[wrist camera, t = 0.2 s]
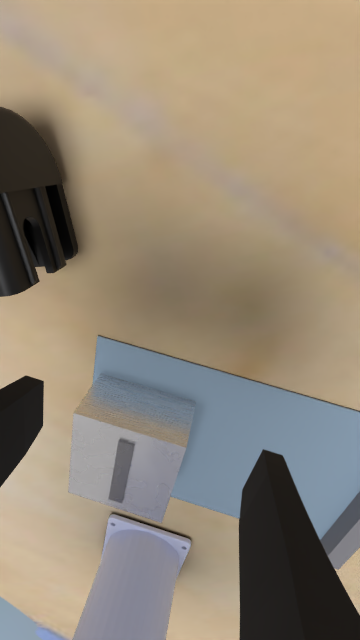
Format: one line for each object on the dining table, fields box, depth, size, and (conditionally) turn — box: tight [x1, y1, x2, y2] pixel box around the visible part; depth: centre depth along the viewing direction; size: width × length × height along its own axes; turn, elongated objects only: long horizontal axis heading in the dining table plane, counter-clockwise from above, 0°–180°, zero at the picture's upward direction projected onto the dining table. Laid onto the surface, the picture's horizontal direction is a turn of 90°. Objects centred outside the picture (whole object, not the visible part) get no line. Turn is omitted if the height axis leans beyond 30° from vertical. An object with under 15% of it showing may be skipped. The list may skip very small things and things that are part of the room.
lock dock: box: [93, 336, 360, 570], centre depth 23 cm, size 14×22×2 cm, turn 78°
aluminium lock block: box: [68, 373, 196, 523], centre depth 23 cm, size 8×7×4 cm
